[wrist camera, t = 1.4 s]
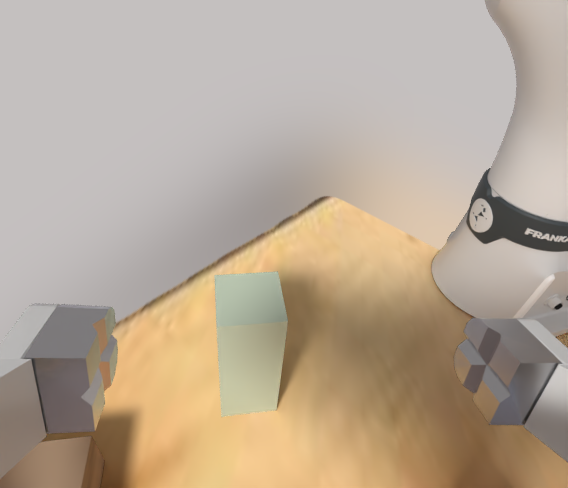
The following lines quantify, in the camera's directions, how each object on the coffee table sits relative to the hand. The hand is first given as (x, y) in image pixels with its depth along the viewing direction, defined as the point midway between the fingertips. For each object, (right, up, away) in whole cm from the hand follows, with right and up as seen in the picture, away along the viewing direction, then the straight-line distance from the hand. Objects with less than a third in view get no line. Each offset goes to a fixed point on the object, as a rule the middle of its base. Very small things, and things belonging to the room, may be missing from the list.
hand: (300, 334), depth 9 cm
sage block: (-4, -12, +29) cm, 32 cm away
